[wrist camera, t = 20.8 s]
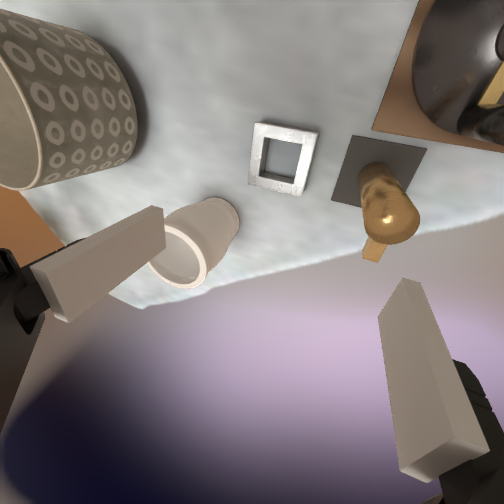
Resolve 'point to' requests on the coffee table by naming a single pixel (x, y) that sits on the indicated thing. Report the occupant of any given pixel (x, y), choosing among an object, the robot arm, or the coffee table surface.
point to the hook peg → (384, 210)
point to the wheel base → (404, 101)
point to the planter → (59, 105)
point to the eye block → (260, 152)
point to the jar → (195, 242)
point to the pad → (368, 151)
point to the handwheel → (462, 68)
